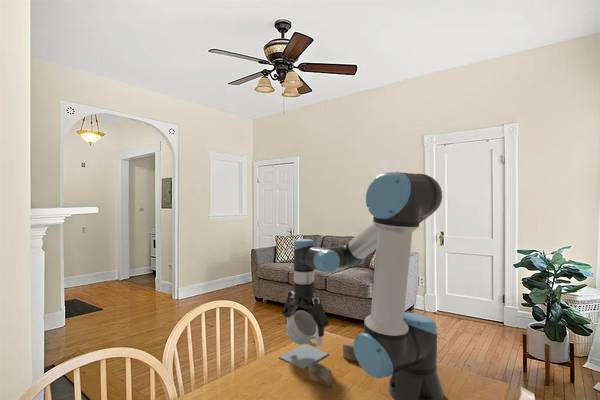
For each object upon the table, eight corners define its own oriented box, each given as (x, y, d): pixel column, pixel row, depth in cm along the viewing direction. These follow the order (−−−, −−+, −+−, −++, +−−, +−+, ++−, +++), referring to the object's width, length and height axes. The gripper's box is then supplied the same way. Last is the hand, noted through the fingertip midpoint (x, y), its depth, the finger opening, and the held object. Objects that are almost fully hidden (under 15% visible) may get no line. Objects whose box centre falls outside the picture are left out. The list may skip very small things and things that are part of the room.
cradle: (364, 362, 118) (364, 349, 118) (328, 387, 102) (328, 372, 102) (345, 355, 123) (345, 343, 123) (308, 378, 108) (308, 364, 108)
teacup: (277, 326, 123) (289, 314, 119) (295, 317, 131) (307, 305, 128) (298, 361, 117) (311, 349, 114) (316, 349, 126) (329, 338, 122)
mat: (328, 354, 124) (328, 353, 124) (303, 369, 114) (303, 367, 114) (304, 345, 132) (304, 344, 132) (278, 358, 122) (278, 356, 122)
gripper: (338, 285, 117) (338, 346, 117) (286, 274, 134) (286, 327, 134) (325, 290, 112) (325, 353, 112) (272, 278, 128) (272, 333, 128)
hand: (303, 340), depth 123 cm, fingers closed on teacup, 13 cm apart
